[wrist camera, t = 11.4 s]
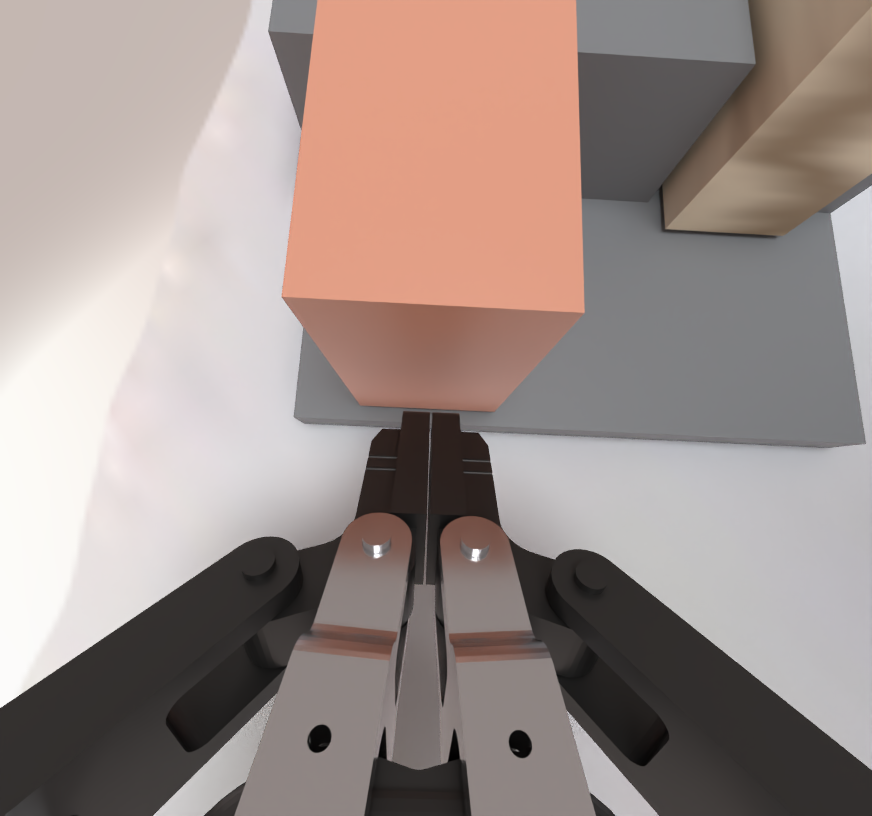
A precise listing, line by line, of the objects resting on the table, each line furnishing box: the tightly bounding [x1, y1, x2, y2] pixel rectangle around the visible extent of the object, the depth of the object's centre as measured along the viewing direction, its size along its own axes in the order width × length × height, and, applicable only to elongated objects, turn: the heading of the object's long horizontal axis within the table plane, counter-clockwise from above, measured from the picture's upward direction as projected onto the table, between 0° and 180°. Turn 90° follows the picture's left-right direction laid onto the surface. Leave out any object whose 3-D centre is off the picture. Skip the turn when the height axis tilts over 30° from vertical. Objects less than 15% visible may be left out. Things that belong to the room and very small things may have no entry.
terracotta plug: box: [282, 0, 585, 412], centre depth 12 cm, size 5×10×9 cm, turn 178°
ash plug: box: [662, 0, 872, 236], centre depth 14 cm, size 5×10×9 cm, turn 177°
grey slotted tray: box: [268, 0, 872, 448], centre depth 16 cm, size 22×20×8 cm
